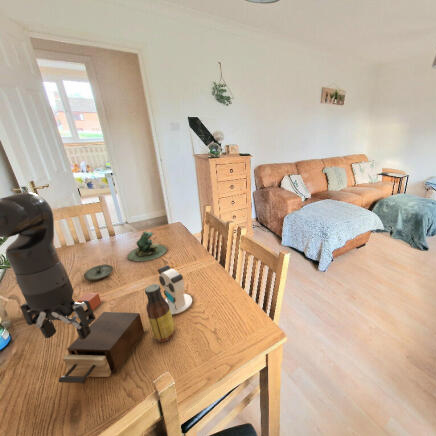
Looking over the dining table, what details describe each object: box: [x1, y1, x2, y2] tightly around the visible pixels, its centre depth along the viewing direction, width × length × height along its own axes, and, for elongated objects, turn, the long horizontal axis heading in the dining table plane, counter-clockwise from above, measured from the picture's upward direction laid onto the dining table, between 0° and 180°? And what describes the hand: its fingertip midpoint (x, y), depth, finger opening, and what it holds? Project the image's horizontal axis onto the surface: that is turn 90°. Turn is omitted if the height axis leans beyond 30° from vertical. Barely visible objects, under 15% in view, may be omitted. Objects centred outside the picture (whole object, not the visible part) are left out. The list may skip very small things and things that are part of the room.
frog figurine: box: [127, 231, 168, 262], centre depth 126 cm, size 18×18×12 cm
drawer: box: [58, 351, 113, 384], centre depth 68 cm, size 17×10×7 cm, turn 0°
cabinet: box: [66, 311, 145, 372], centre depth 73 cm, size 14×12×9 cm
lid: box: [83, 264, 114, 282], centre depth 107 cm, size 11×10×5 cm
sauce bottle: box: [144, 283, 176, 343], centre depth 76 cm, size 6×6×20 cm
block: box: [77, 292, 102, 311], centre depth 90 cm, size 4×4×4 cm
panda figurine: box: [157, 264, 193, 315], centre depth 91 cm, size 12×11×15 cm
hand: (68, 335), depth 59 cm, fingers open, 8 cm apart
